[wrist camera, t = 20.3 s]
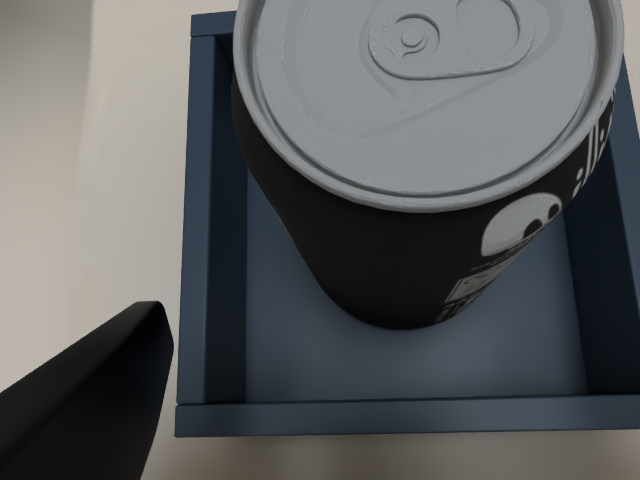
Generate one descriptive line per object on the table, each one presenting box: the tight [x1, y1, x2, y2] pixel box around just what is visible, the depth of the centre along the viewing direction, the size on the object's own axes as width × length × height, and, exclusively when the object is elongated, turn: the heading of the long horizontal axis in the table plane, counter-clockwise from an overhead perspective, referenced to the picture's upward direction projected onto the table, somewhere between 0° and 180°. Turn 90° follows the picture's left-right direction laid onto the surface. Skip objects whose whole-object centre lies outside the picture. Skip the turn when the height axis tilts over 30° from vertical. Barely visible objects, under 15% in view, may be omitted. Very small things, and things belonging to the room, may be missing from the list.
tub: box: [174, 11, 640, 438], centre depth 18 cm, size 13×13×5 cm
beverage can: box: [231, 0, 624, 329], centre depth 14 cm, size 7×7×12 cm
